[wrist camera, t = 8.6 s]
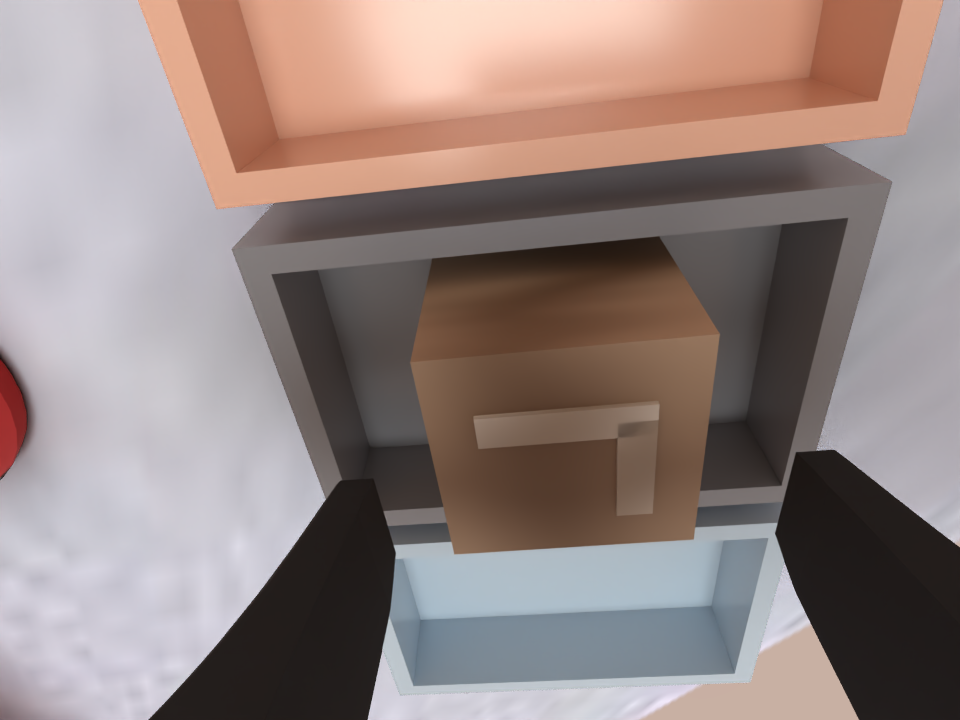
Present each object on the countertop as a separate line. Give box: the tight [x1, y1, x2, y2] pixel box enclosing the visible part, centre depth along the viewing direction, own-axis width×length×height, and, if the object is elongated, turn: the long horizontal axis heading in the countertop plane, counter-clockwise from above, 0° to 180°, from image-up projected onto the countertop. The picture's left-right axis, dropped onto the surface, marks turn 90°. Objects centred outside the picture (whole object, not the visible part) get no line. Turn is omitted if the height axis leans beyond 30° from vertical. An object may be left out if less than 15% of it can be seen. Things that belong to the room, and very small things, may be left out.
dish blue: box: [383, 502, 784, 695], centre depth 19 cm, size 12×8×3 cm
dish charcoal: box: [232, 144, 892, 526], centre depth 14 cm, size 12×8×3 cm
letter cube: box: [410, 236, 720, 555], centre depth 13 cm, size 5×5×5 cm
